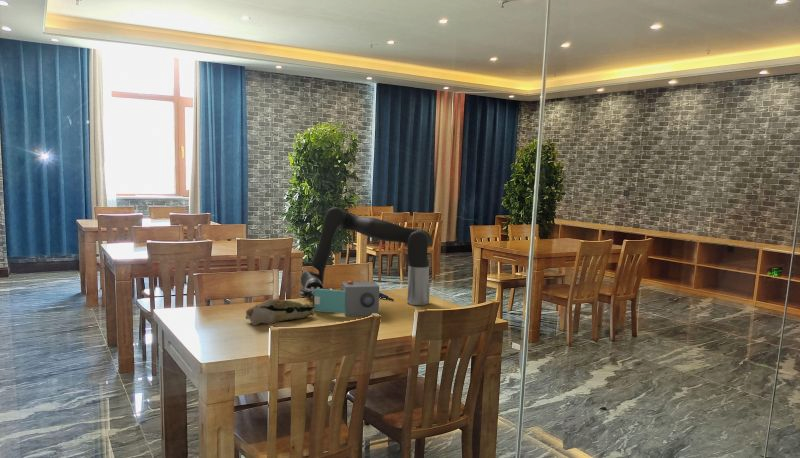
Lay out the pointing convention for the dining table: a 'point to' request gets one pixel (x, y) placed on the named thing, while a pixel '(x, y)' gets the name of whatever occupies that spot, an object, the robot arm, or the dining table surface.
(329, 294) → the door
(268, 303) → the mineral
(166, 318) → the dining table surface
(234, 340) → the dining table surface
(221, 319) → the dining table surface
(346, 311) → the camera box
